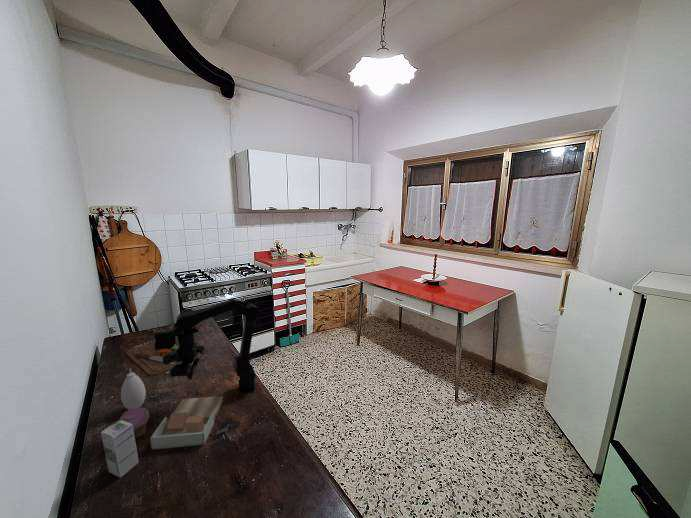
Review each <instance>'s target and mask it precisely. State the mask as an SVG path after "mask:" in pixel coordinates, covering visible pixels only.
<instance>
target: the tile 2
mask: <svg viewBox="0 0 691 518" xmlns="http://www.w3.org/2000/svg"><path fill="white" fill-rule="evenodd" d="M203 429H204V422H203V416H189V417H188V419H187V420H186V421H185V431H186V433H198V432H202V431H203Z"/></svg>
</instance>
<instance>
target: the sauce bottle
mask: <svg viewBox="0 0 691 518" xmlns="http://www.w3.org/2000/svg"><path fill="white" fill-rule="evenodd" d="M146 393H147V392H146V387H145V384H144V382H143V380H142V379H141V378H140V376H138V375H137V374H136V373H135V372H132V369H131V368H129V373H128V374H126V377H125V379H124V381H123V383H122V386H121V390H120V399H121V403H122V404H123V406H124V408H125V409H127V410H130V409H132V408H141V407H142V405H143V404H144V402H145V401H146V400H145V399H146V397H147V396H146Z"/></svg>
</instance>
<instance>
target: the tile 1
mask: <svg viewBox="0 0 691 518" xmlns="http://www.w3.org/2000/svg"><path fill="white" fill-rule="evenodd" d="M169 418H170V419H168V420H169V422H168V421H167V422H168V426H167V430H169V431H176V430H184V429H185V421H186V420H187V418H188V414H187V413H186V412H182V413H174V412H172V413H171V414H170V417H169Z"/></svg>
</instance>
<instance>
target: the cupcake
mask: <svg viewBox="0 0 691 518" xmlns="http://www.w3.org/2000/svg"><path fill="white" fill-rule="evenodd" d="M149 418H150V412H149V410H148V409H147V408H145V407H139V408H132V409H130V410H129V409H127V410H126V411H125V412H124V413H122V415H121V416H120V418H119V420H123V421H125V422H128V423H131V424H132V425H133V431H134V437H135V440H137V439H139V438H140V437H142V436H144V435H146V433H147V422H148V421H149Z"/></svg>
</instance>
